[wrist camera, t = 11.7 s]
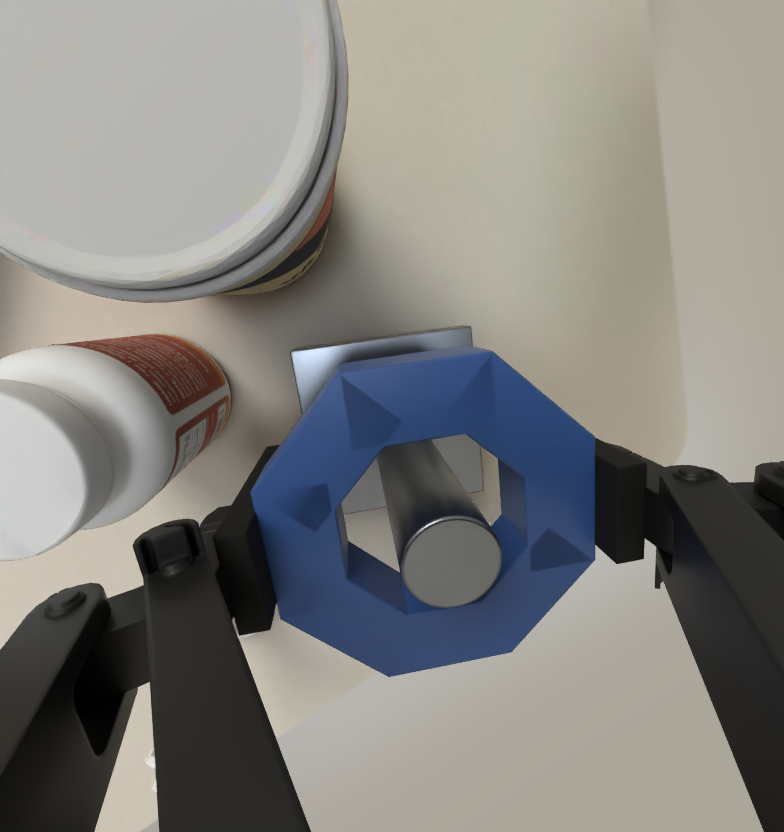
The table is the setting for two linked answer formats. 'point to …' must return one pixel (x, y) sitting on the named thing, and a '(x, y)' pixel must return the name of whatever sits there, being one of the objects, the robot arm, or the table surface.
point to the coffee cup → (169, 142)
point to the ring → (411, 422)
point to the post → (418, 481)
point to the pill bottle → (98, 432)
